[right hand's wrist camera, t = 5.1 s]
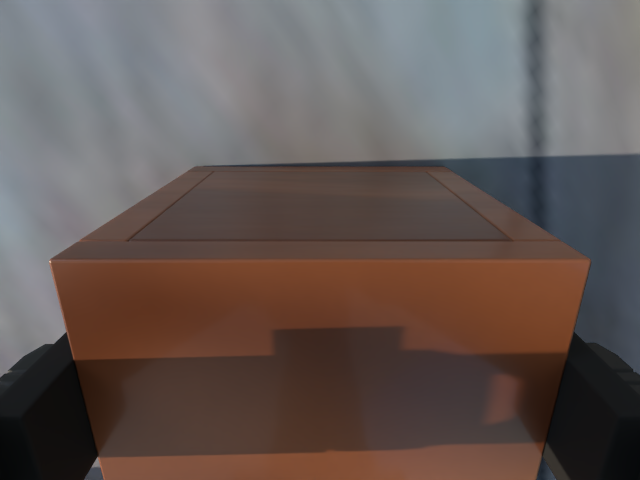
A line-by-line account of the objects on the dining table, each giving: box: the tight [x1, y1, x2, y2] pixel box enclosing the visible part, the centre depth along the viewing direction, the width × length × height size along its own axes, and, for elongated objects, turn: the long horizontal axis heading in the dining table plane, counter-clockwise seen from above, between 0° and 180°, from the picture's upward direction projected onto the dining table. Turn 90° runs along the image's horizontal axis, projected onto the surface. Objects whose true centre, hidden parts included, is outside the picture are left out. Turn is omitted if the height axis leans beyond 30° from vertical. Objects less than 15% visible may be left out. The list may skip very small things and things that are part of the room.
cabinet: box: [49, 167, 591, 480], centre depth 16 cm, size 19×10×10 cm, turn 0°
